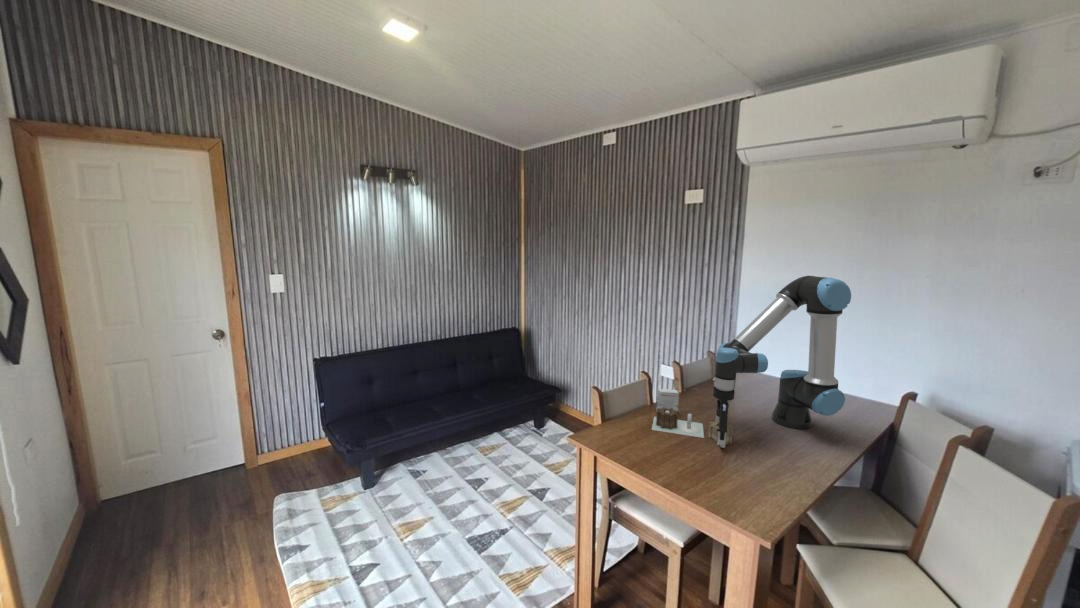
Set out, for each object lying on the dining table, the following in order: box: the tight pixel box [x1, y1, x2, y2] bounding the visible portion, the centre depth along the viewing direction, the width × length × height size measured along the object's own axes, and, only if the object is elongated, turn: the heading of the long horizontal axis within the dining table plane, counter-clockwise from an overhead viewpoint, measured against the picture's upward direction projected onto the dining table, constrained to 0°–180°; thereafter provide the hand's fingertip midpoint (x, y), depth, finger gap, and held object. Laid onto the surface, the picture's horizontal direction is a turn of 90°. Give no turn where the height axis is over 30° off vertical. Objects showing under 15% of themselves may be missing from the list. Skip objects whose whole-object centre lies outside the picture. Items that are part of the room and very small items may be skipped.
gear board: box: [651, 411, 705, 439], centre depth 175 cm, size 20×14×7 cm
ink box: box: [655, 388, 680, 412], centre depth 188 cm, size 9×5×12 cm, turn 84°
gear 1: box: [656, 407, 679, 429], centre depth 176 cm, size 8×8×6 cm
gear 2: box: [708, 420, 734, 446], centre depth 166 cm, size 8×8×6 cm
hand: (719, 439), depth 167 cm, fingers open, 13 cm apart
